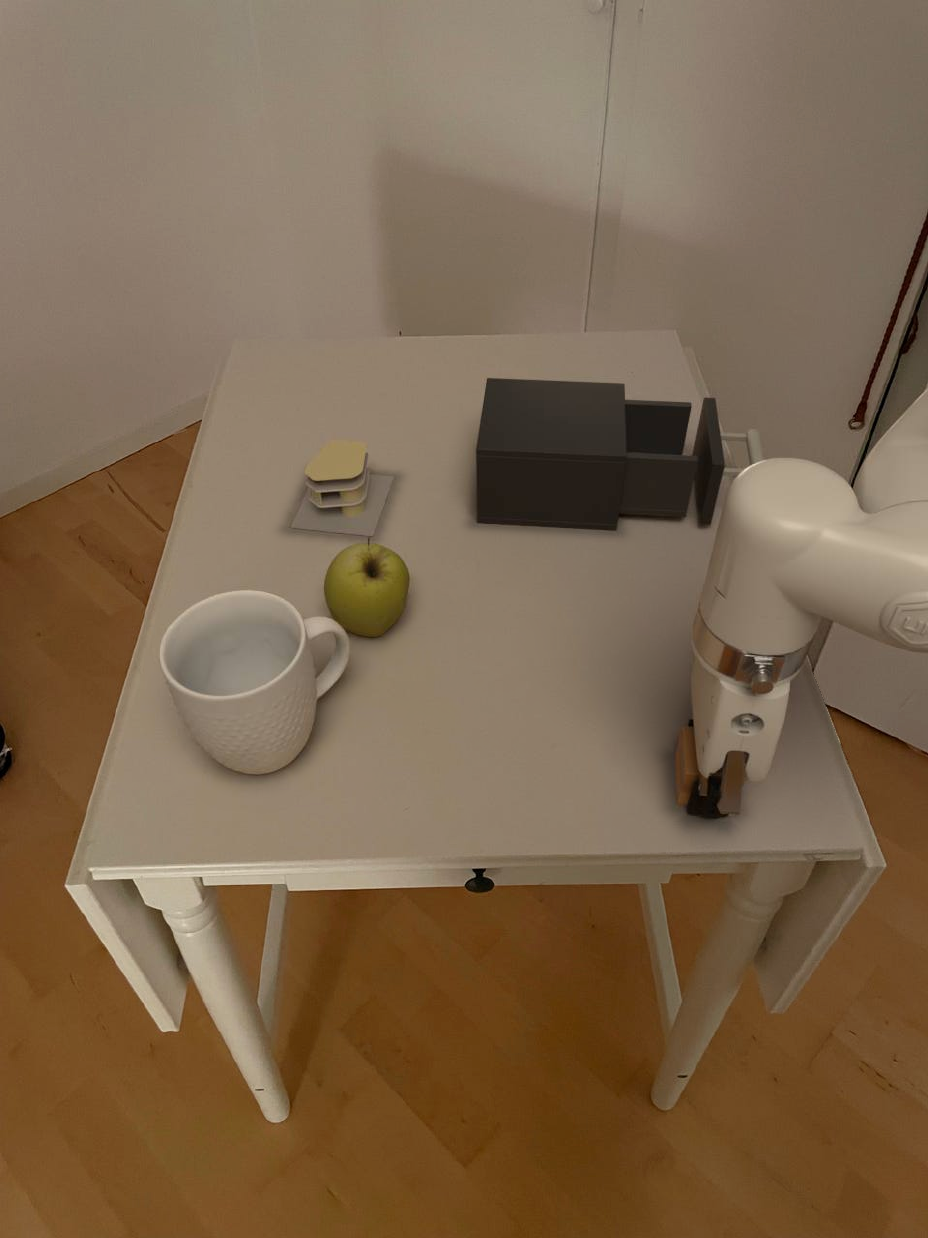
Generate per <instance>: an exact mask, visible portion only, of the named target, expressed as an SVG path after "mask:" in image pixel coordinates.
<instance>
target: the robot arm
mask: <svg viewBox="0 0 928 1238" xmlns="http://www.w3.org/2000/svg"><path fill="white" fill-rule="evenodd" d="M743 469H744V470H743V471H742V472H741V473H740V474H739V475H738V476H735V478H734V479H733V480H732V482H731V483H730V485H729V487H728V489H727V491H726V496H725V497H724V501H723V504H722V509H721V512H720V518H719V521H718V526H717V528H716V529H717V530H716V533H715V538H714V541H713V546H712V550H711V554H710V558H709V562H708V566H707V569H706V573H705V577H704V582H703V584H702V585H703V586H702V589H701V594H700V596H699V597H700V598H699V601H698V606H697V610H696V614H695V617H694V622H693V627H692V630H691V633H690V645H691V648H692V651H693V655H694V660H693V664H692V670H691V676H690V677H691V679H690V690H691V691H690V693H691V694H690V695H691V707H692V709H691V715H692V718H689V719H688V722H687V727H694V734H695V745H696V755H697V764H698V769H699V772H700V773H701V775H700V780H698V781H694V785H693V788H692V791H691V794H690V798H689V801H688V804H687V805H686V813H687V814H688V815H690V816H700V817H701V818H704V819H710V820H716V819H720V818H727V817H729V816H730V815H734V816H736V815H737V816H739V815H740V813H741V803H742V794H743V787H742V784H743V774H744V766H745V773H746V776H747V778H748V780H749V783H751V784H752V783H753V784H755V783H756V784H757V783H759V784H760V783H762V782H764V781H765V780H766V778H767V777H768V775H769V773H770V769H771V767H772V764H773V761H774V757H775V754H776V751H777V748H778V744H779V742H780V737H781V734H782V731H783V726H784V723H785V718H786V714H787V708H788V705H789V697H790V691H791V690H790V689H791V681H792V680H793V679H794V678H796V676H798V674H800V672H801V670H802V668H803V666H804V664H805V661H806V660H807V656H808V654H809V652H810V649H811V646H812V643H813V641H814V638H815V636H816V634H817V631H818V630H819V629H818V628H819V627H820V623H821V621H822V618H824V619H827V620H829V621H831V622H834V623H836V624H838V625H840V626H842V627H845V628H847V629H850V630H852V631H854V632H855V633H859V634H861V635H863V636H866V637H868V638H870V639H872V640H875V641H877V642H880V643H882V644H885V645H888V646H891V647H894V648H897V649H901V650H905V651H908V652H914V653H919V654H920V653H922V654H928V387H927V388H926V389H925V390H923V392H922V393H921V394H920V395H919V397H917V398H916V399H915V400H914V402H912V404H911V405H910V406H909V407H908V408H907V409H906V410H905V411H904V412H903V414H901V415H900V416H899V418H898V419H896V421H895V422H894V423H893V424H892V425H891V426H890V427H889V429H888V430H886V432H885V433H884V434H883V435H882V436H881V438H880V439H878V441H877V442H876V444H874V446H873V448H872V449H871V450H870V451H869V452H868V454H867V456H866V458H865V459H864V460H863V462H862V464H861V466H860V468H859V470H858V472H857V474H856V477H855V480H854V483H853V487H852V486H851V484H849V483H848V482H847V480H846V479H845V478H843V476H841V475H840V474H838V473H837V472H835V471H834V470H832V469H831V468H829V467H827V466H825V465H822V464H821V463H818V462H814V461H812V460H808V459H803V458H798V457H773V458H768V459H765V460H763V461H760V462H757V463H755V464H753V465H751V466H750V465H749V466H747V467H746V468H743ZM715 772H722V779H712V778H711V776H712V775H711V774H712V773H715Z"/></svg>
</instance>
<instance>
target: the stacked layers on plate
mask: <svg viewBox="0 0 928 1238" xmlns="http://www.w3.org/2000/svg"><path fill="white" fill-rule="evenodd" d="M367 447H368V443H367V442H359V441H348V440H341V439H340V440H339V439H338V440H337V439H331V440H330V441H329V442H328V443H327V444H326V445H325V446H324V447H323V448H322V449H321V450H320V451H319V452H318V453H317V454H316V455H315V456H314V457H313V458H312V459H311V460H310V461H309V462H308V464H307V465H306V467H305V469H304V472H303V473H304V474H305V475H306V476H307V478H306V481H305V484H306V486H308V488H307V490H306V491H305V494H304V497H303V499H302V500H301V503H300V506H299V508H298V510H297V512H296V514H295V516H294V519H293V521H292V523H291V525H290V528H291V529H297V530H298V529H299V530H307V531H308V530H309V531H319V532H326V533H336V534H347V535H355V536H356V535H357V536H364V537H365V536H366V537H374V536H375V535H374V534H375V532H376V530H377V528H378V527H377V526H378V523H379V521H380V518H381V515H382V512H383V509H384V507H385V504H386V501H387V499H388V496H389V494H390V491H391V487H392V484H393V482H394V479H395V476H392V475H391V476H390V475H382V474H372V473H371V468H370V467H368V460H369V453H368V452H367Z"/></svg>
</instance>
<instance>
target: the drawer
mask: <svg viewBox="0 0 928 1238" xmlns="http://www.w3.org/2000/svg"><path fill="white" fill-rule="evenodd" d="M716 400H717V399H716V397H707V396H706V397H705V396H704V397H703V400H702V405H701V410H700V415H699V419H698V424H697V430H696V433H695V438H694V439H695V440H694V444H693V449H692V454H691V455H688V454H684V450H685V449H684V448H685V443H686V439H687V433H688V428H689V423H690V418H691V412H692V408H693V406H692V405H693V404H692V402H689V401H669V400H668V401H667V400H666V401H665V400H645V399H643V400H642V399H625V416H626V449H627V458H626V465H625V472H624V479H623V487H622V494H621V501H620V508H619V514H621V515H638V516H639V515H641V516H656V517H662V516H663V517H675V518H676V517H678V518H679V517H680V518H687V514H688V510H689V506H690V502H691V501H690V500H691V496H692V490H693V488H695V491H694V492H695V500H696V508H697V509H696V510H697V518H698V525H702V526H703V525H705V526H711V525H712V521H713V517H714V514H715V508H716V505H717V500H718V496H719V493H720V488H721V484H722V479H723V477H737V476H738V475H739V474H740V473H741V472H742V471H743V470H744V469H745V468H739V467H738V468H736V467H735V468H734V467H726V462H725V461H726V460H725V455H724V448H723V442H722V441H727V442H728V441H730V442H733V441H734V442H745V443H746V449H747V454H748V460H749V466H751V465H753V464H755V463H757V462H760V461H763V460H766V457H765V452H764V447H763V446H764V445H763V442H762V437H761V433H760V431H759V430H758V429H755V428H754V429H753V428H752V429H749V430H747V432H746V433H739V432H721V429H720V422H719V414H718V407H717V401H716ZM693 486H694V487H693Z"/></svg>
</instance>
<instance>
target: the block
mask: <svg viewBox="0 0 928 1238" xmlns="http://www.w3.org/2000/svg"><path fill="white" fill-rule="evenodd" d="M687 726H688V725H687ZM687 726H686V725H685V726H684V725H683V726H682V727H681V731H680V735H679V738H678V741H677V746H676V750H675V753H674V757H673V763H674V777H675V792H676V795H675V796H676V804H677V805H678V806H687V804H688V801H689V798H690V794H691V791H692V788H693V785H694V781H698V780H700V775H701V773H700V772H699V769H698V764H697V755H696V745H695V734H694V727H687ZM711 775H712V776H711V778H712V779H722V772H715V773H712V774H711ZM746 779H747V773H746V770H745V766H744V774H743V784H742V788H744V785H745V782H746Z"/></svg>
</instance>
